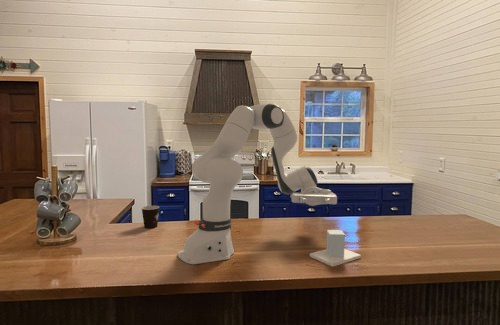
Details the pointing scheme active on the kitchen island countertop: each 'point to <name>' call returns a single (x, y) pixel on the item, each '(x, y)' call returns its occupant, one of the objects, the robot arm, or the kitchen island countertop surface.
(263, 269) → the kitchen island countertop surface
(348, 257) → the post board
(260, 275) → the kitchen island countertop surface
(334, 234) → the tall grey rectangular prism
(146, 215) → the coffee mug
